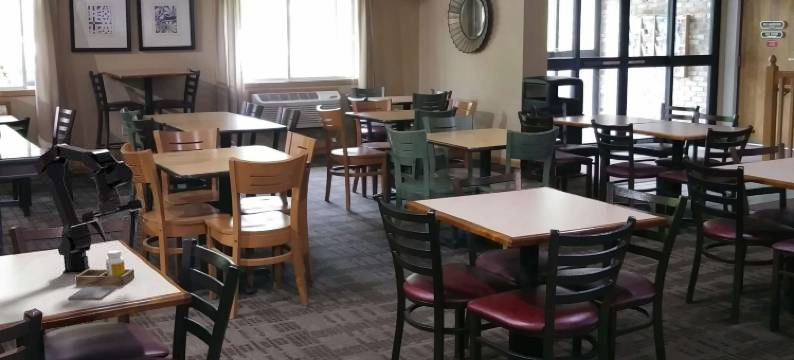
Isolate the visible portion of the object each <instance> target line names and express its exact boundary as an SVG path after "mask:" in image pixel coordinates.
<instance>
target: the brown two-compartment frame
mask: <svg viewBox="0 0 794 360" xmlns="http://www.w3.org/2000/svg"><path fill="white" fill-rule="evenodd" d="M134 279H135V269H133V268H131V269H129V268H128V269H126V268H125V274H124V275H122V276H107V268H106V269H103V268H102V269H99V268H98V269H97V268H95V269H93V268H92V269H91V268H89V269H87V270H85V271H84V272H82V273H78V274H77V275H76V276H75V284H76V286H125V285H127V284H128V283H130V282H131V281H132V280H134Z"/></svg>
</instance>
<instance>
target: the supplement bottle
mask: <svg viewBox="0 0 794 360" xmlns="http://www.w3.org/2000/svg"><path fill="white" fill-rule="evenodd" d="M105 266H106V269H107V276H122V275H124V274H125V269H126V268H125V259H124V258H123V257H122V251H121V250H120V249H114V250H109V251H107V259H106V260H105Z"/></svg>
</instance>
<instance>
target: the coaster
mask: <svg viewBox="0 0 794 360" xmlns="http://www.w3.org/2000/svg"><path fill="white" fill-rule="evenodd" d="M115 290H116V286H114V287H112V286H111V287H109V286H107V287H106V286H104V287H97V286H96V287H95V286H93V287H92V286H91V287H90V286H88V287H86V286H84V287H82V288H80V289H79V290H78V291H76V292H74V293H73V294H72V295H69V296H68V298H67V299H68V300H85V299H100V300H103V299H104V298H105V297H107V296H108V295H109V294H111V293H112V292H114V291H115ZM100 300H99V301H100Z"/></svg>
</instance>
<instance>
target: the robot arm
mask: <svg viewBox="0 0 794 360" xmlns="http://www.w3.org/2000/svg"><path fill="white" fill-rule="evenodd" d="M110 152H111V151H110V150H108V149H106V148H101V149H99V148H98V149H88V148H87V149H86V148H82V147H78V146H74V145H69V144H67V143H59V144H53V145H51V147H50V148H49V149H48V150H47V151H45V152H44V153H42V154H41V155H40V156H39V158H37V159H36V162H35V163H34V168H35V171H36V173H37V175H38V177H39V179H40V180H41V181H42V182H43V183H45V184H46V185H47V186H48V188H49V192H50V194H51V197H52V199H53V202H54V205H55V208H56V210H57V213H58V215H59V218H60V220H61V223H62V230H61V234H60V235H61V239H62V241H61V243H60V244H59V246H58V248H57V252H58V255H59V256H63V260H64V270H63V271H62V274H80V273H82V272H84V271H85V270H87V269H91V268H90V266H89V257H88V255H87V251H88V252H89V251H90V250H91V245H92V236H91V235H92V233H91V231H90V229H89V226H92V227H93V228H94V229H95V230H96V231H97V232H98V234H99V236H100V237H101V239H102V240H103V241H104V243H106V242H107V236H106V233H105V231H104V228H103V224H102V221H101V220H100V218H103V217H106V216H110V215H114V214H117V213H121V212H126V211H128V212H129V213H128V214H129V215H130V220H131V221H130V222H131V226H132V227H131V228H132V230H133V234H134V235H135V234H137V225H138V219H139V214H140V212H141V211H143V210H142V209H144V208H146V204H145V201H144V200H143V199H142V198H138V199H134V200H130V201H128V202H127V204H124V205H122V204H123V199H122V196H121V195H120V194H119V191H118V188H117V187H119V186H123V185H125V184H128V183H130V182H132V179H133V178H134V173H133V170H132V169H131V168H130V166H128V165H126V164H125V161H118V160H117V159H116V158H115V157H114V155H112V153H110ZM68 161H74V162H76V163H80V164H82V165H83V166H84V167H85V168H87V169H89V170H91V173H90V175H89V179H90V180H94V182H95V187H96V190H97V194H98V203H97V208H98V210H99V211H96V210H93V211H89V212H86V213H82V214H81V216H80V220H81V221H80V220H79V218H78V215H77V213H76V210H75V208H74V204H73V201H72V199H71V197H70V194H69V191H68V189H67V186H66V184H65V180H64V178H65V173H66V168H65V165H66V164H67V162H68ZM117 208H118V209H117ZM129 210H130V211H129ZM98 219H99V220H98Z"/></svg>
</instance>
